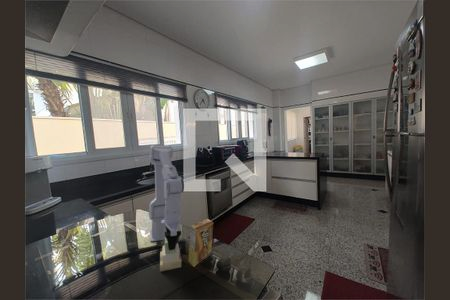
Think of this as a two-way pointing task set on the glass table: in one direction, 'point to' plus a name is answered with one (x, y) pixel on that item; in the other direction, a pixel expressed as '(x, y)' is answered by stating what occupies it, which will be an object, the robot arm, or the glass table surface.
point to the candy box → (200, 241)
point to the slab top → (170, 255)
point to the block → (167, 247)
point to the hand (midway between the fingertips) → (171, 243)
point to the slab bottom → (169, 263)
